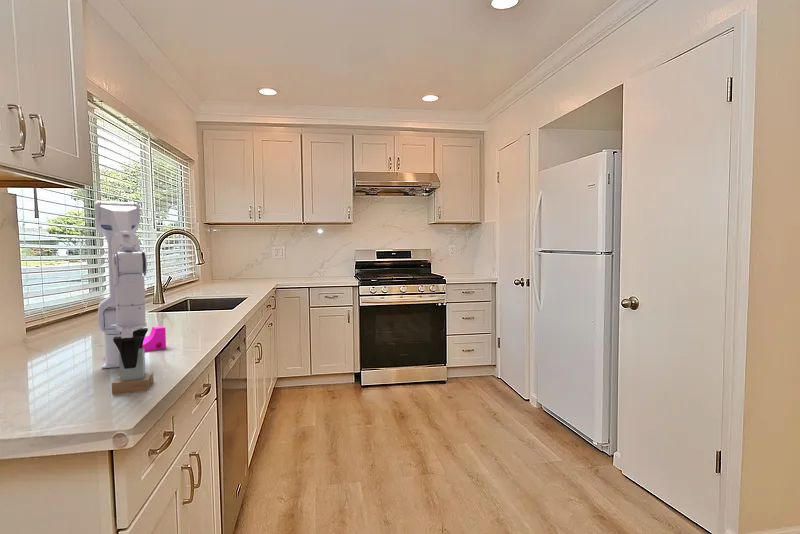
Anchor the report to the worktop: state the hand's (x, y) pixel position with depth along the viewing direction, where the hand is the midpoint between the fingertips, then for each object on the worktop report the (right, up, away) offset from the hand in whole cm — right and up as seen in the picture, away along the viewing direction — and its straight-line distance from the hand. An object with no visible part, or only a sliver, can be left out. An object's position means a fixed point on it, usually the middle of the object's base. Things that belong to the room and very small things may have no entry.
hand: (132, 364), depth 104 cm
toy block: (-20, -5, +35) cm, 41 cm away
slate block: (0, -3, 0) cm, 3 cm away
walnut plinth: (0, -6, 0) cm, 6 cm away
